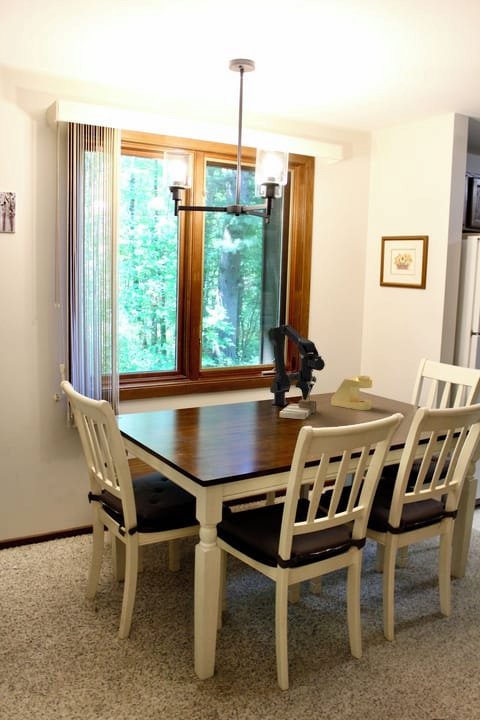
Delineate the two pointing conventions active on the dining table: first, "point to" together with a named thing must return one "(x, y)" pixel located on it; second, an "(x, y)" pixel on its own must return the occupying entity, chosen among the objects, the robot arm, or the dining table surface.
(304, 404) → the stacked cube assembly
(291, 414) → the board
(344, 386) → the clamp
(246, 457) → the dining table surface
